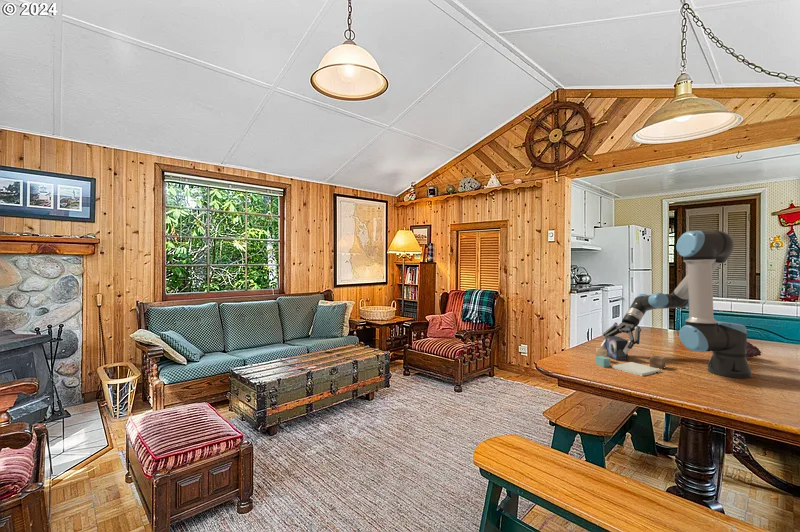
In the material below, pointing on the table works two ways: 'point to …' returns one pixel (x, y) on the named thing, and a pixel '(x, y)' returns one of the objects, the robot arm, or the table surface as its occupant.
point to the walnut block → (657, 362)
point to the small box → (616, 347)
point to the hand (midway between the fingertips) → (613, 350)
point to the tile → (636, 368)
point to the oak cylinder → (601, 352)
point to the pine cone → (752, 350)
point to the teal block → (603, 361)
